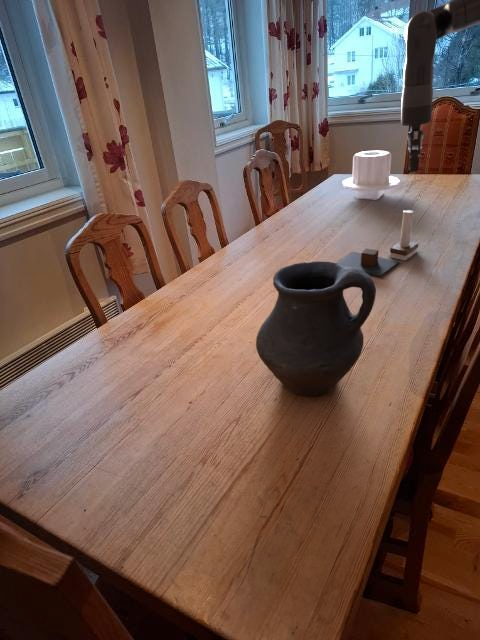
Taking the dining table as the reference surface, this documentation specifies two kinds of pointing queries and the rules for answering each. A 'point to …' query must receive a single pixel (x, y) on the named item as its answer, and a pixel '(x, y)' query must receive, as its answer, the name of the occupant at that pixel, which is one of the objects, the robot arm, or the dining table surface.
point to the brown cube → (369, 257)
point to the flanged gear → (371, 174)
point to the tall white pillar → (405, 239)
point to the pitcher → (314, 326)
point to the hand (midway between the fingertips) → (413, 168)
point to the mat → (377, 270)
